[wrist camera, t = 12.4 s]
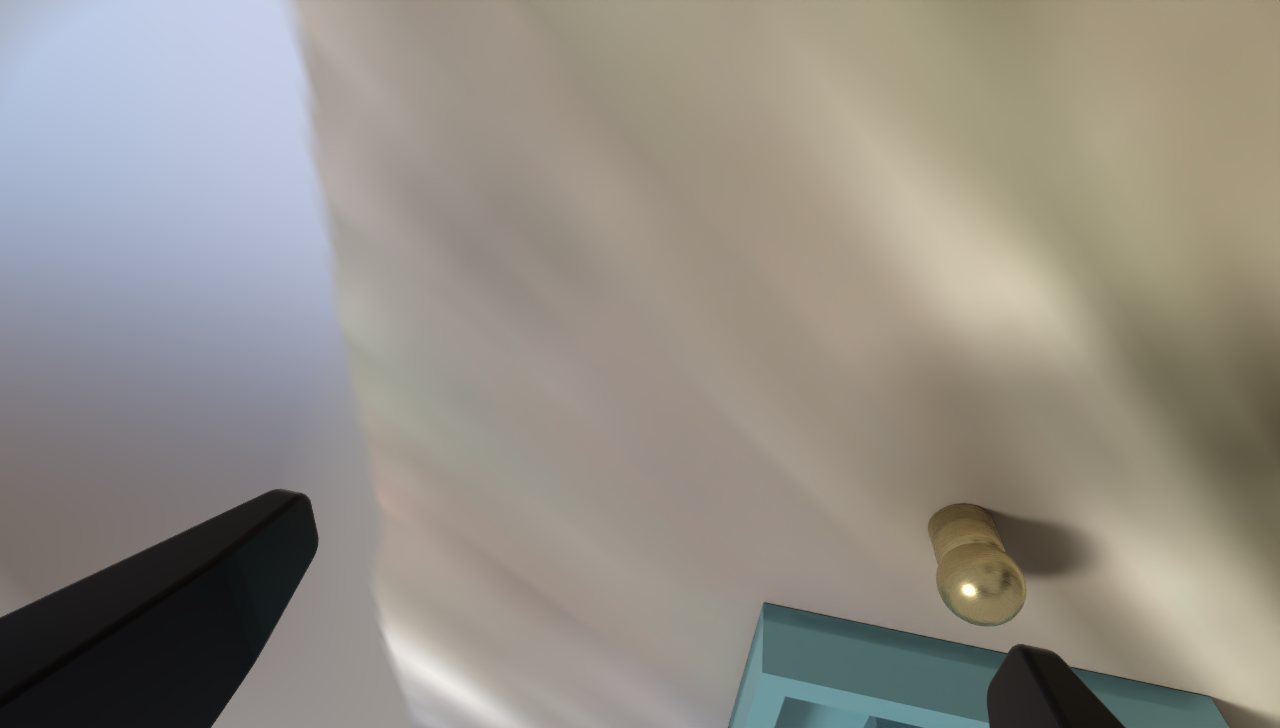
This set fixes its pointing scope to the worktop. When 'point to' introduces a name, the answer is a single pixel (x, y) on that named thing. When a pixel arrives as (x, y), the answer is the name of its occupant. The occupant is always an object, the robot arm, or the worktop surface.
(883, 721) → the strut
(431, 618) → the worktop surface
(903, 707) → the bin
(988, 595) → the ball stud
